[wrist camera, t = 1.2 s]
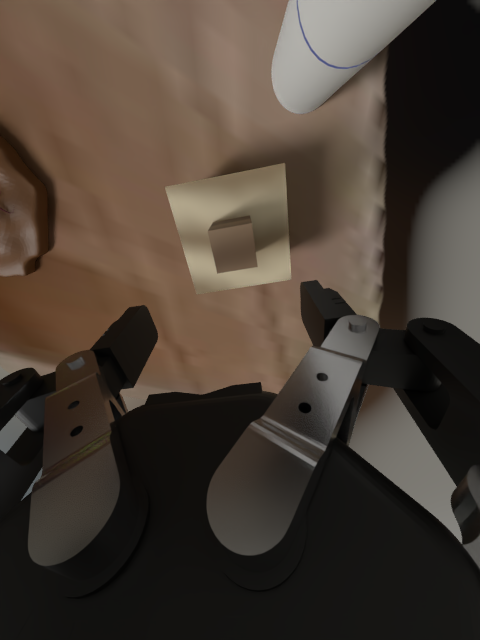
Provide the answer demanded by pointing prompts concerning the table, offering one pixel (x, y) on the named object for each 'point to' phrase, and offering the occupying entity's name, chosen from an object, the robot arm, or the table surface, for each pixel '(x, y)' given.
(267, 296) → the table surface
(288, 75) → the cylindrical container
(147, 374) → the table surface
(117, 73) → the table surface
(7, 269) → the plant
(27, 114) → the table surface
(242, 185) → the oak lid
